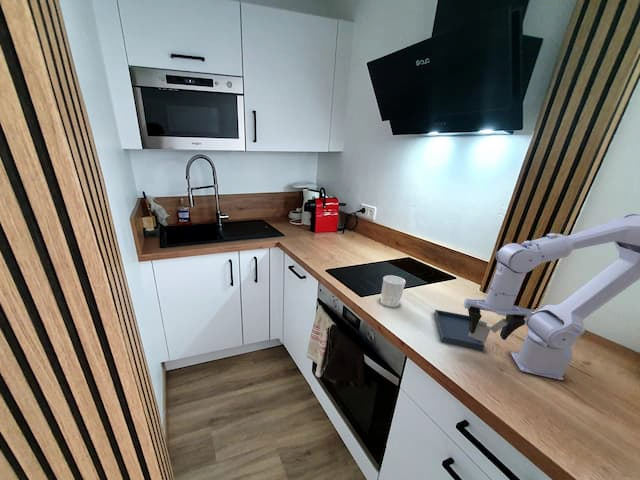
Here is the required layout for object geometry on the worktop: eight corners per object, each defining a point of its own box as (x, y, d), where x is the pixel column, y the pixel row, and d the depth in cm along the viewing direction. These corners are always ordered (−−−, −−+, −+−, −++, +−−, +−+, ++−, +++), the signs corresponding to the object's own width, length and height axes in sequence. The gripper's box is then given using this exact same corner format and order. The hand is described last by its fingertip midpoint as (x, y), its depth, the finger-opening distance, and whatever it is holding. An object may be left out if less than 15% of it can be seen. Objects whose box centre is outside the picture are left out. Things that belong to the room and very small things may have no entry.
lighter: (468, 336, 81) (476, 311, 78) (469, 333, 82) (478, 309, 79) (498, 347, 77) (508, 322, 74) (499, 344, 78) (509, 319, 75)
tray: (468, 320, 100) (470, 316, 99) (482, 350, 85) (484, 345, 84) (433, 314, 104) (435, 309, 103) (441, 341, 89) (442, 336, 88)
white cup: (404, 307, 107) (410, 283, 103) (385, 308, 106) (390, 284, 102) (393, 297, 114) (398, 274, 110) (375, 298, 113) (379, 275, 109)
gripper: (474, 292, 71) (459, 336, 77) (545, 303, 67) (524, 349, 72) (468, 280, 77) (454, 323, 83) (532, 290, 73) (513, 334, 78)
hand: (486, 334), depth 78 cm, fingers closed on lighter, 7 cm apart
